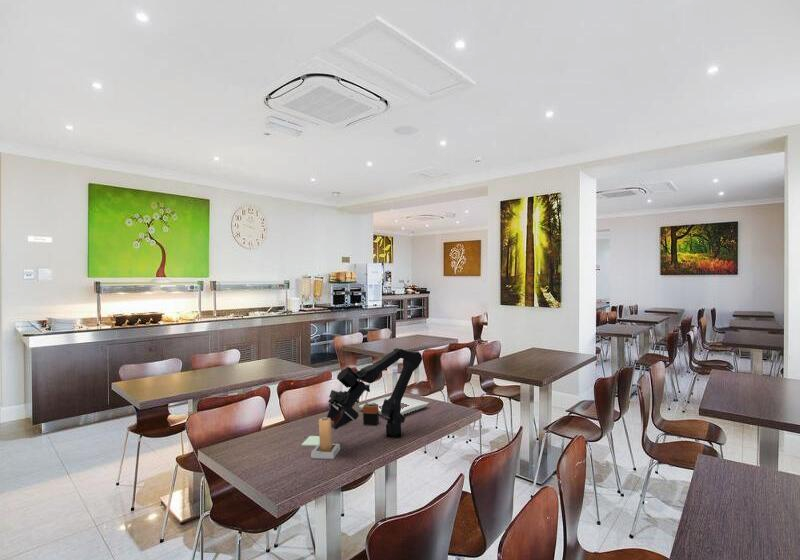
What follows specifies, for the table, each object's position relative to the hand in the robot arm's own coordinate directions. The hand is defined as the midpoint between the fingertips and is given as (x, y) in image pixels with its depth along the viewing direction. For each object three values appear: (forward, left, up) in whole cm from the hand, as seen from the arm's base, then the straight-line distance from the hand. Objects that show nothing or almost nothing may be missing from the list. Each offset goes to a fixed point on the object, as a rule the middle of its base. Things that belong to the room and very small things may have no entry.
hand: (330, 425), depth 174 cm
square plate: (-16, -58, -12) cm, 61 cm away
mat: (+10, -11, -11) cm, 19 cm away
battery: (-9, -35, -11) cm, 38 cm away
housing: (+2, +1, -11) cm, 11 cm away
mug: (+7, -33, -11) cm, 36 cm away
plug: (+2, +1, -11) cm, 11 cm away
